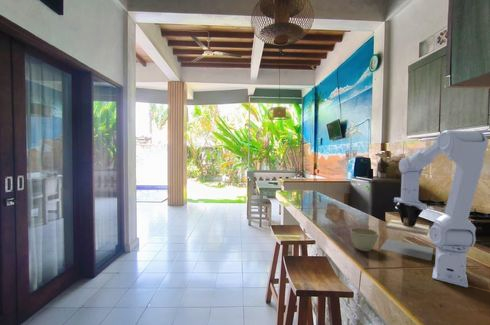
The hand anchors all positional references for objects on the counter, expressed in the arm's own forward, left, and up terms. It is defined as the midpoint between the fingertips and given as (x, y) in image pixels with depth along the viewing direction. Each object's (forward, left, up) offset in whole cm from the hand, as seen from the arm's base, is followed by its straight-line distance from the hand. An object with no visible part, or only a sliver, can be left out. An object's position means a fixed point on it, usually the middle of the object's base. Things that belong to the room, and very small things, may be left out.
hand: (408, 224), depth 99 cm
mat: (0, 0, -10) cm, 10 cm away
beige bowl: (-12, +13, -10) cm, 20 cm away
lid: (0, 0, -1) cm, 1 cm away
